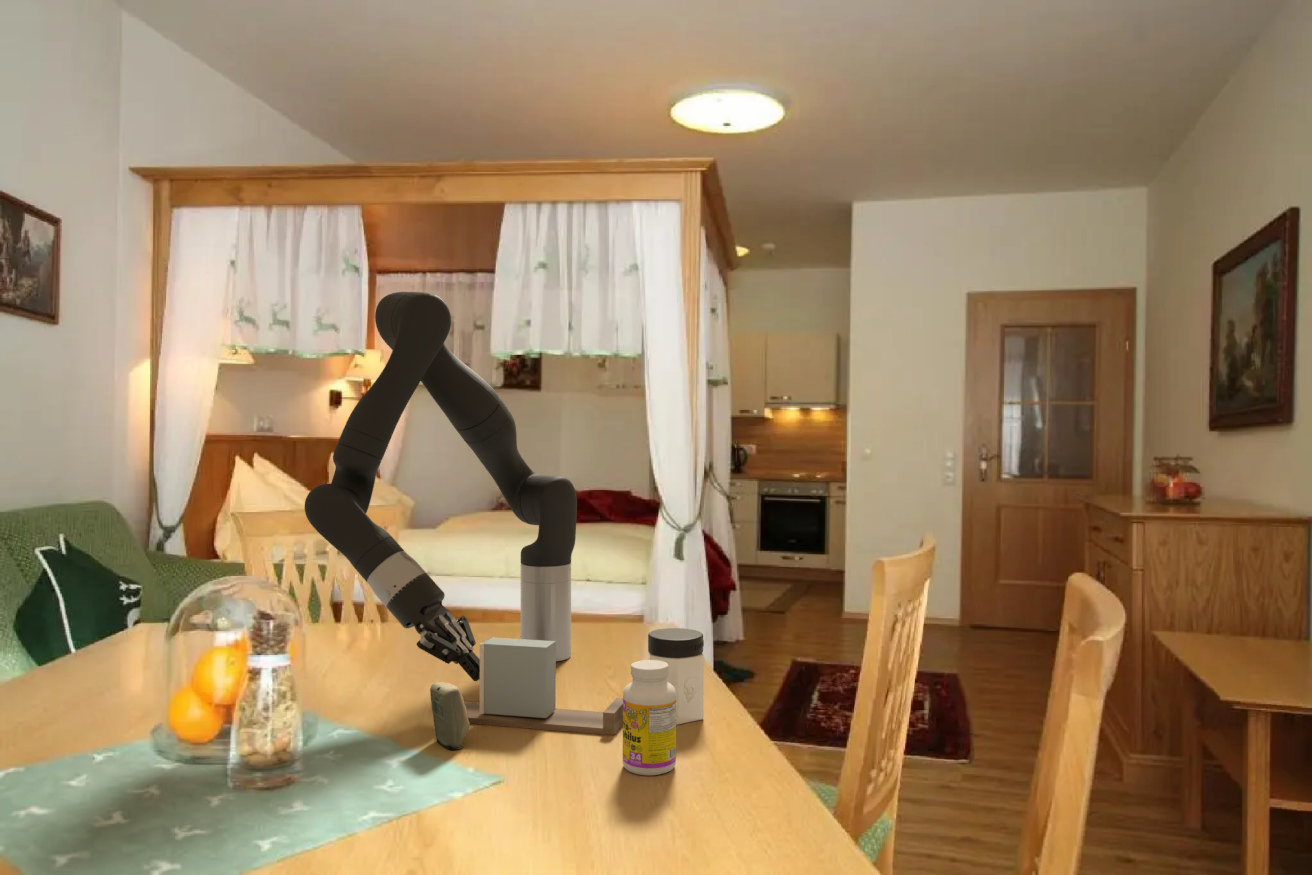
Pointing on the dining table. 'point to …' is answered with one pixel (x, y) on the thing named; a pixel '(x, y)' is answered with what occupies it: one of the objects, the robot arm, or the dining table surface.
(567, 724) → the rail
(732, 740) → the dining table surface
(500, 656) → the grey square block
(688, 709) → the jar
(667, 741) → the supplement bottle
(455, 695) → the beige rounded block
